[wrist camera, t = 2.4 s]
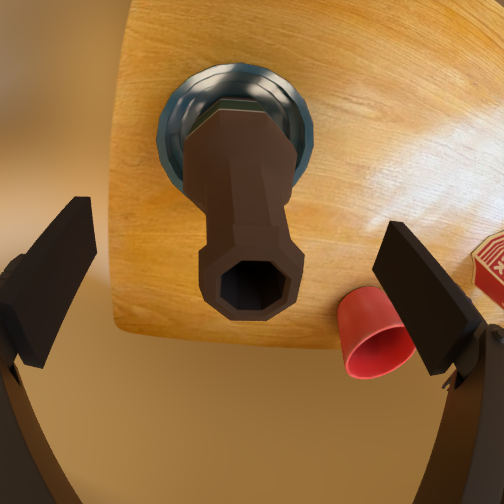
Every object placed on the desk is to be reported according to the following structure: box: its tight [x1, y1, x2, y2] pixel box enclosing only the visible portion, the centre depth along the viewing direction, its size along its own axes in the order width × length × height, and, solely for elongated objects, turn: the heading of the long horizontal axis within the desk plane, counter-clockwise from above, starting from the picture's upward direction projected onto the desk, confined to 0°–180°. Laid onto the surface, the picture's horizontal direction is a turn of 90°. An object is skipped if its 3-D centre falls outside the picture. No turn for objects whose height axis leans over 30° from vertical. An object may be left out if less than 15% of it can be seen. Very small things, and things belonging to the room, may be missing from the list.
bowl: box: [156, 63, 314, 198], centre depth 28 cm, size 14×14×5 cm
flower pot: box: [337, 286, 416, 379], centre depth 41 cm, size 11×11×10 cm
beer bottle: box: [183, 96, 305, 321], centre depth 20 cm, size 8×8×24 cm
